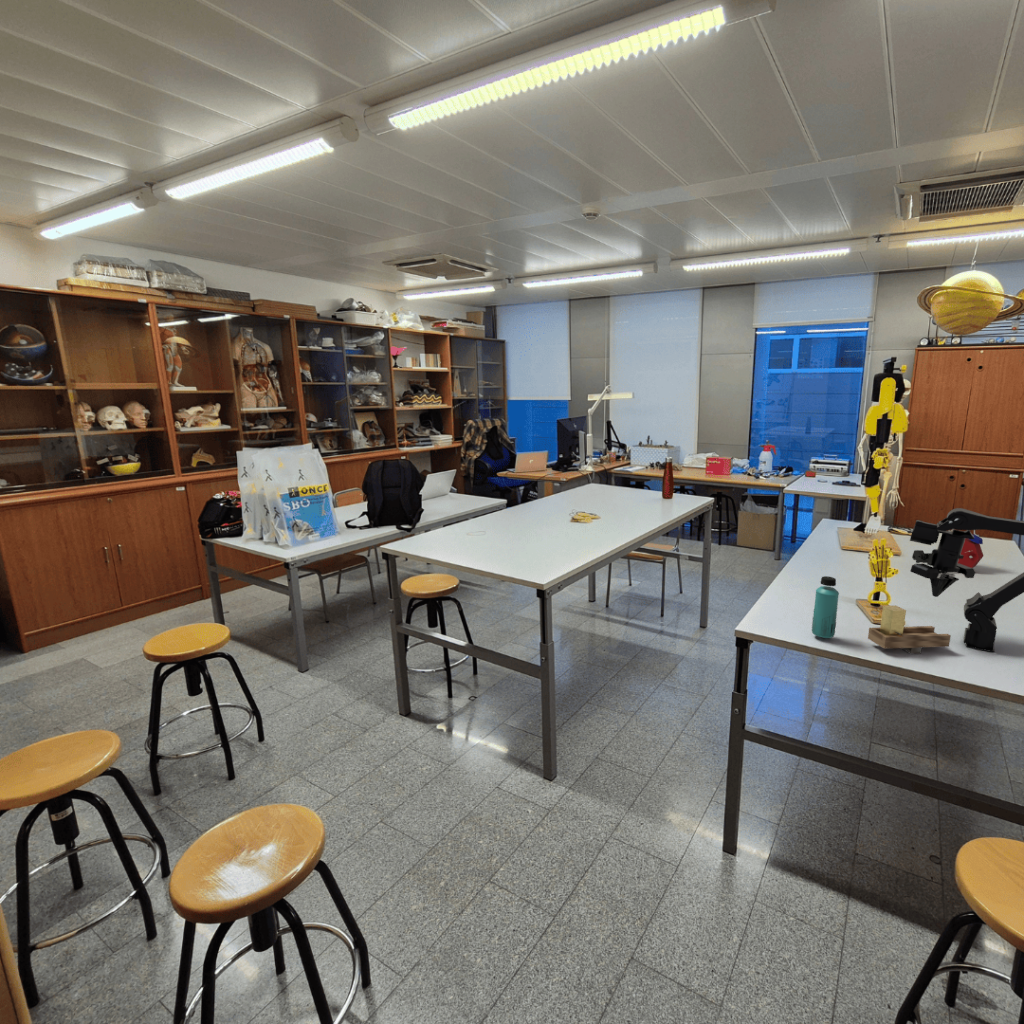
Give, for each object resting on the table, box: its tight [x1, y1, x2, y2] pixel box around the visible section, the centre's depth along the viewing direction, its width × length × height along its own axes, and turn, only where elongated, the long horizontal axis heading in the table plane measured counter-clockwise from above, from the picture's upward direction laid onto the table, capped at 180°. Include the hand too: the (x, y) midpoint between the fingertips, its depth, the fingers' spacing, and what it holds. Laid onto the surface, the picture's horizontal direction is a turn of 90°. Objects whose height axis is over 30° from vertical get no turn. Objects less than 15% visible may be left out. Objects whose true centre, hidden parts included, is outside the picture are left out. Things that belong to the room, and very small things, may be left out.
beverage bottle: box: [811, 575, 840, 639], centre depth 172 cm, size 6×7×20 cm
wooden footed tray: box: [867, 625, 951, 655], centre depth 166 cm, size 20×7×6 cm, turn 94°
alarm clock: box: [948, 529, 985, 569], centre depth 241 cm, size 15×9×20 cm, turn 35°
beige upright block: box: [879, 604, 907, 636], centre depth 164 cm, size 4×7×9 cm, turn 4°
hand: (934, 596), depth 172 cm, fingers closed
